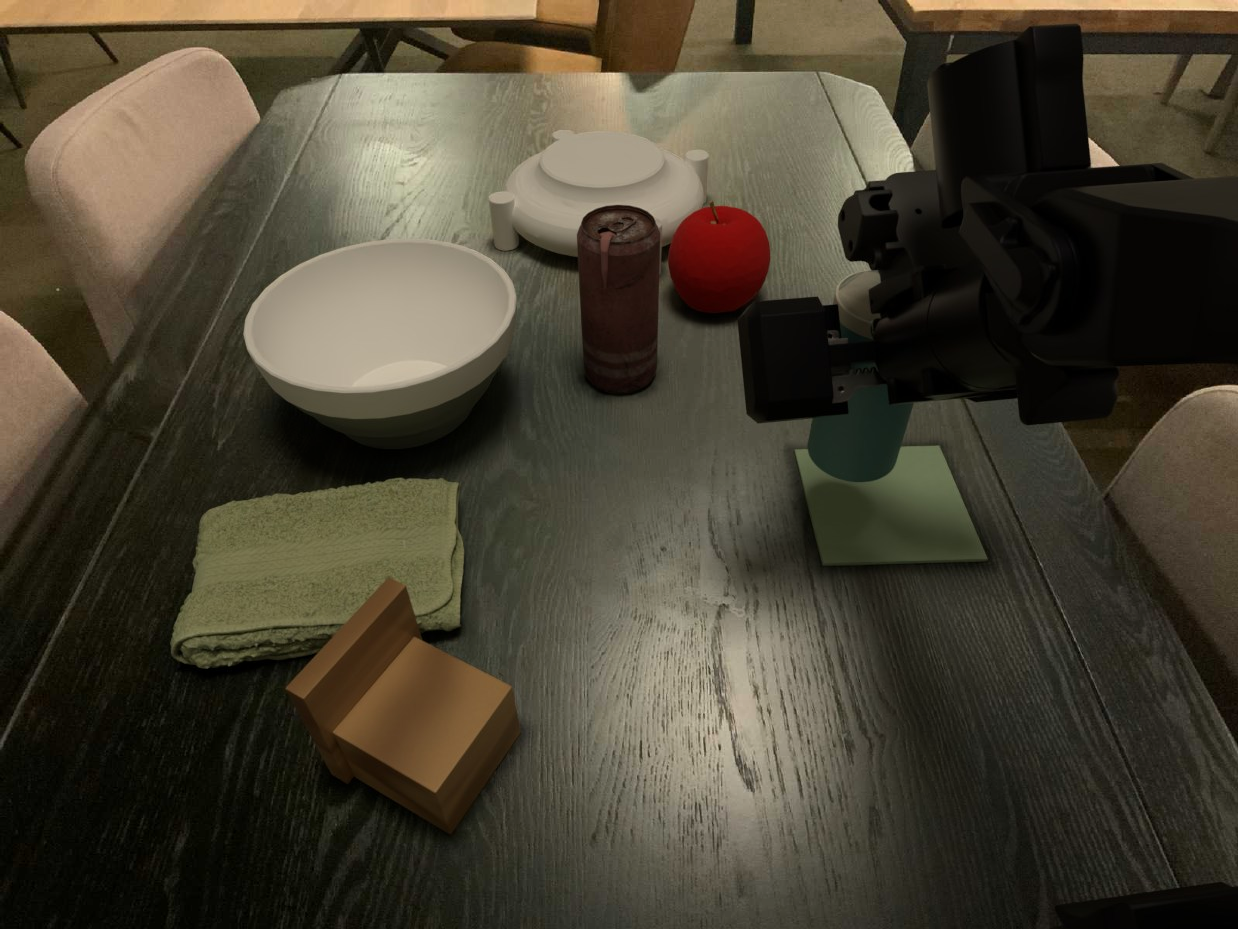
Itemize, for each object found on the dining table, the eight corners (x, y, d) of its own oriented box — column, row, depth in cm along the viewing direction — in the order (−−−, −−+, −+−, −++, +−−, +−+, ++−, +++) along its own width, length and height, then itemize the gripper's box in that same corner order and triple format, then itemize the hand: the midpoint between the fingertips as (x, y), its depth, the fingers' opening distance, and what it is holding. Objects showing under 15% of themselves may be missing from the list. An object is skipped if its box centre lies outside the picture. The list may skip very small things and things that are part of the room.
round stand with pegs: (536, 308, 79) (529, 238, 74) (460, 196, 94) (451, 132, 89) (761, 250, 86) (769, 182, 81) (656, 154, 101) (657, 92, 96)
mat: (986, 561, 57) (988, 558, 57) (822, 566, 57) (823, 563, 57) (938, 448, 65) (939, 445, 65) (793, 452, 65) (794, 449, 65)
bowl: (542, 336, 76) (533, 240, 69) (507, 498, 62) (492, 396, 55) (325, 330, 77) (296, 234, 70) (243, 487, 63) (197, 386, 56)
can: (577, 394, 70) (567, 241, 60) (591, 348, 74) (585, 198, 64) (650, 402, 69) (653, 248, 59) (660, 354, 74) (665, 203, 64)
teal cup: (908, 482, 54) (958, 326, 46) (814, 484, 54) (847, 329, 46) (885, 420, 59) (927, 267, 50) (798, 422, 59) (826, 269, 50)
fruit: (691, 264, 84) (696, 166, 77) (778, 287, 81) (792, 187, 74) (649, 312, 78) (650, 211, 71) (741, 339, 75) (752, 236, 68)
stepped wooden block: (526, 725, 49) (510, 636, 43) (445, 844, 44) (413, 763, 38) (418, 668, 52) (388, 576, 45) (331, 774, 47) (284, 688, 41)
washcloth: (471, 639, 53) (464, 608, 51) (175, 684, 51) (154, 654, 49) (463, 489, 62) (456, 457, 60) (211, 522, 60) (195, 490, 58)
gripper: (1168, 131, 39) (991, 231, 54) (765, 158, 37) (702, 252, 53) (1193, 375, 39) (1009, 405, 54) (790, 412, 37) (720, 432, 53)
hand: (861, 369), depth 54 cm, fingers closed on teal cup, 6 cm apart
